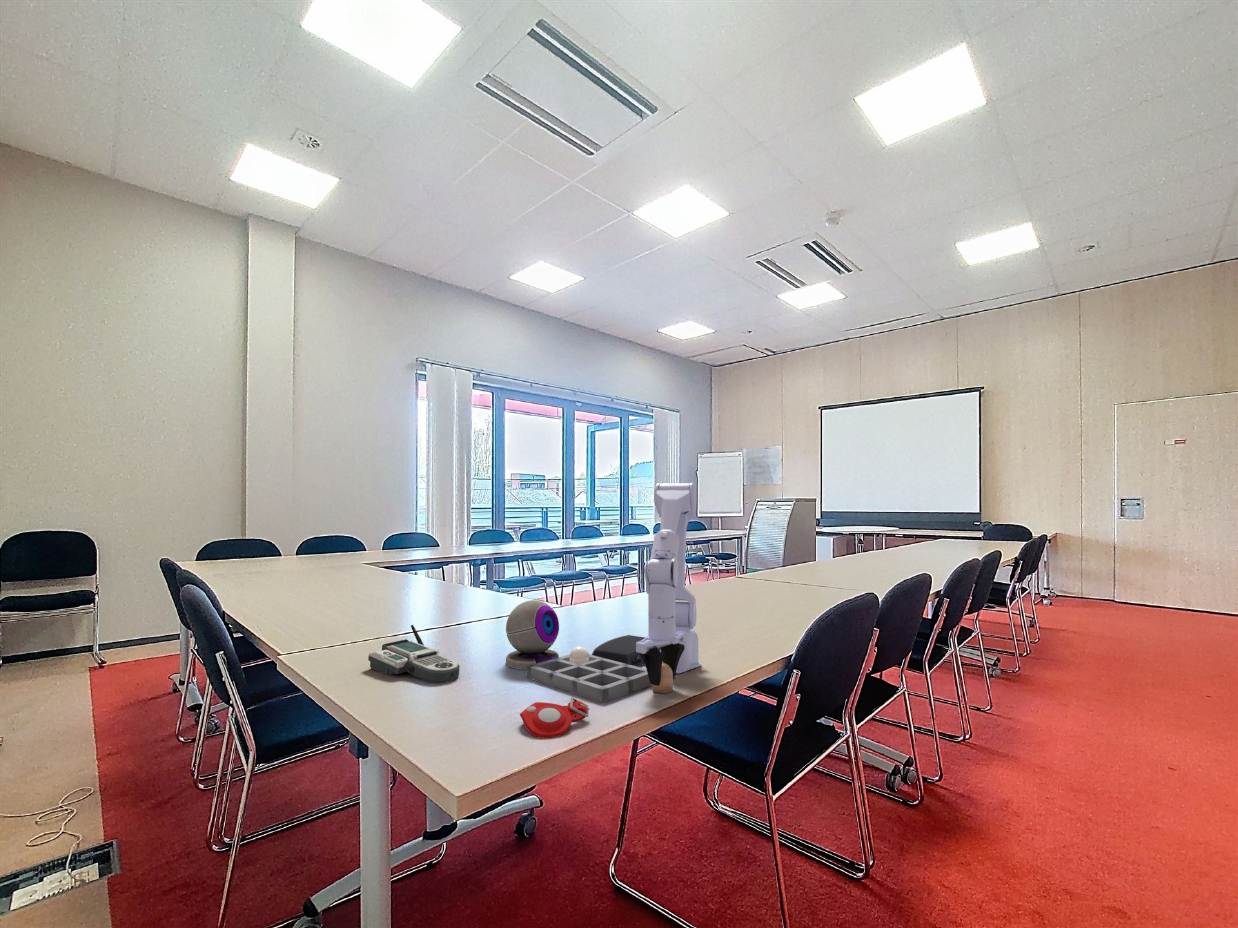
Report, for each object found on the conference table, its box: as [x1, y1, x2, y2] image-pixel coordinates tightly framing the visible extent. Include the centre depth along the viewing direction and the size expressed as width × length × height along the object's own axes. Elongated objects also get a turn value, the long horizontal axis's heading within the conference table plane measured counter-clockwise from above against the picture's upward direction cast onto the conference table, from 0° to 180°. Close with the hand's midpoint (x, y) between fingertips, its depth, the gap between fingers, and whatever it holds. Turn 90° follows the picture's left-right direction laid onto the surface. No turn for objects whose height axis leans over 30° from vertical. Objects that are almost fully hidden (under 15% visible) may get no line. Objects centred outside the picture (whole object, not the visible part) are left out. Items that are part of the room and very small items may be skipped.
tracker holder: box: [519, 696, 590, 739], centre depth 103 cm, size 12×4×10 cm
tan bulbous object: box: [651, 663, 674, 694], centre depth 121 cm, size 4×4×5 cm
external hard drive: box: [591, 634, 660, 667], centre depth 147 cm, size 13×19×4 cm
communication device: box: [367, 624, 460, 684], centre depth 134 cm, size 12×24×9 cm, turn 53°
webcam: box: [505, 599, 560, 671], centre depth 143 cm, size 13×13×15 cm
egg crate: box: [526, 653, 652, 704], centre depth 128 cm, size 24×16×2 cm
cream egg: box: [569, 646, 589, 664], centre depth 136 cm, size 4×4×5 cm
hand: (662, 681), depth 121 cm, fingers closed on tan bulbous object, 4 cm apart
